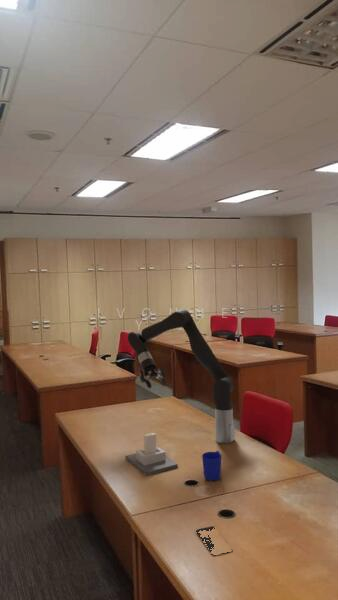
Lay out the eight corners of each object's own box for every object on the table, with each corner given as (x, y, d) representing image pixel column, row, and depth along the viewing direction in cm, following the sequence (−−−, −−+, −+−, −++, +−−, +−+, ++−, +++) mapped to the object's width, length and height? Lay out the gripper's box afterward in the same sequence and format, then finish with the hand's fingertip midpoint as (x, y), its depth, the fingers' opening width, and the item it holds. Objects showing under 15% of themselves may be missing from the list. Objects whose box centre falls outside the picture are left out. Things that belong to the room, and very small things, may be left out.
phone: (212, 555, 142) (194, 529, 156) (212, 558, 142) (194, 532, 156) (234, 550, 144) (214, 525, 159) (234, 552, 144) (214, 527, 159)
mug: (227, 472, 202) (226, 450, 201) (218, 483, 191) (217, 460, 190) (209, 469, 205) (209, 447, 205) (199, 480, 194) (199, 457, 194)
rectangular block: (156, 459, 214) (155, 434, 214) (147, 461, 212) (146, 436, 211) (154, 457, 217) (153, 432, 216) (144, 460, 214) (143, 434, 213)
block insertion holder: (177, 467, 209) (177, 455, 208) (146, 475, 201) (146, 463, 200) (155, 451, 228) (154, 440, 227) (125, 458, 220) (125, 447, 220)
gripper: (137, 359, 246) (147, 384, 237) (160, 356, 253) (171, 380, 244) (133, 367, 251) (143, 392, 242) (155, 364, 258) (166, 388, 249)
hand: (157, 386), depth 243 cm, fingers open, 8 cm apart
